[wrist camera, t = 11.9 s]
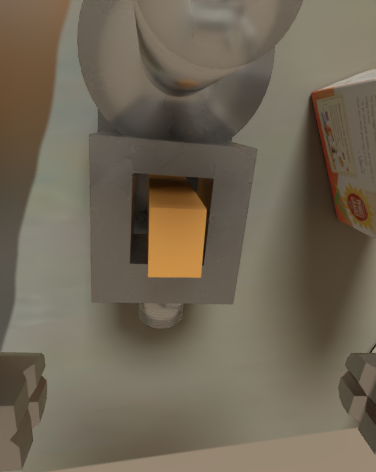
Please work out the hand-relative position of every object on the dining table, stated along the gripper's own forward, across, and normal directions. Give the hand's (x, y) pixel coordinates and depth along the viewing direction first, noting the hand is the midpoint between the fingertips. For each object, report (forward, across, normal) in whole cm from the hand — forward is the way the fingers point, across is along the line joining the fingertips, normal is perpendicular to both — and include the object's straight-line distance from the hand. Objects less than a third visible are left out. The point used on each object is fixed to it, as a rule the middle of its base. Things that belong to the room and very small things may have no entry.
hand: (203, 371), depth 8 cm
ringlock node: (+25, 0, -4) cm, 25 cm away
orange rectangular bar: (+23, 0, 0) cm, 23 cm away
